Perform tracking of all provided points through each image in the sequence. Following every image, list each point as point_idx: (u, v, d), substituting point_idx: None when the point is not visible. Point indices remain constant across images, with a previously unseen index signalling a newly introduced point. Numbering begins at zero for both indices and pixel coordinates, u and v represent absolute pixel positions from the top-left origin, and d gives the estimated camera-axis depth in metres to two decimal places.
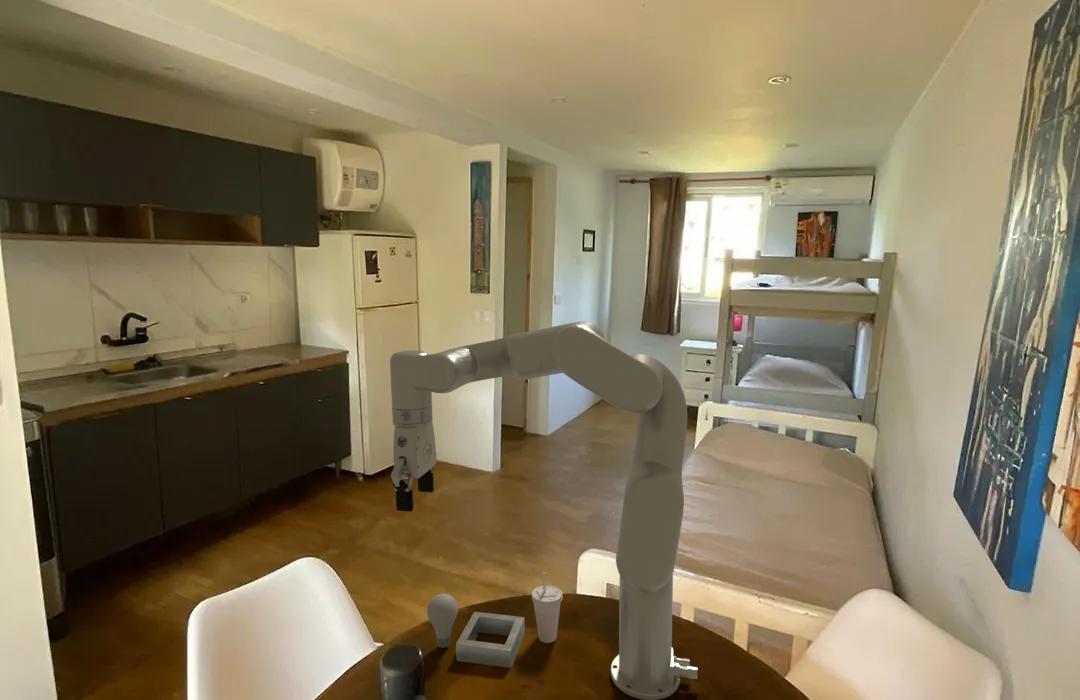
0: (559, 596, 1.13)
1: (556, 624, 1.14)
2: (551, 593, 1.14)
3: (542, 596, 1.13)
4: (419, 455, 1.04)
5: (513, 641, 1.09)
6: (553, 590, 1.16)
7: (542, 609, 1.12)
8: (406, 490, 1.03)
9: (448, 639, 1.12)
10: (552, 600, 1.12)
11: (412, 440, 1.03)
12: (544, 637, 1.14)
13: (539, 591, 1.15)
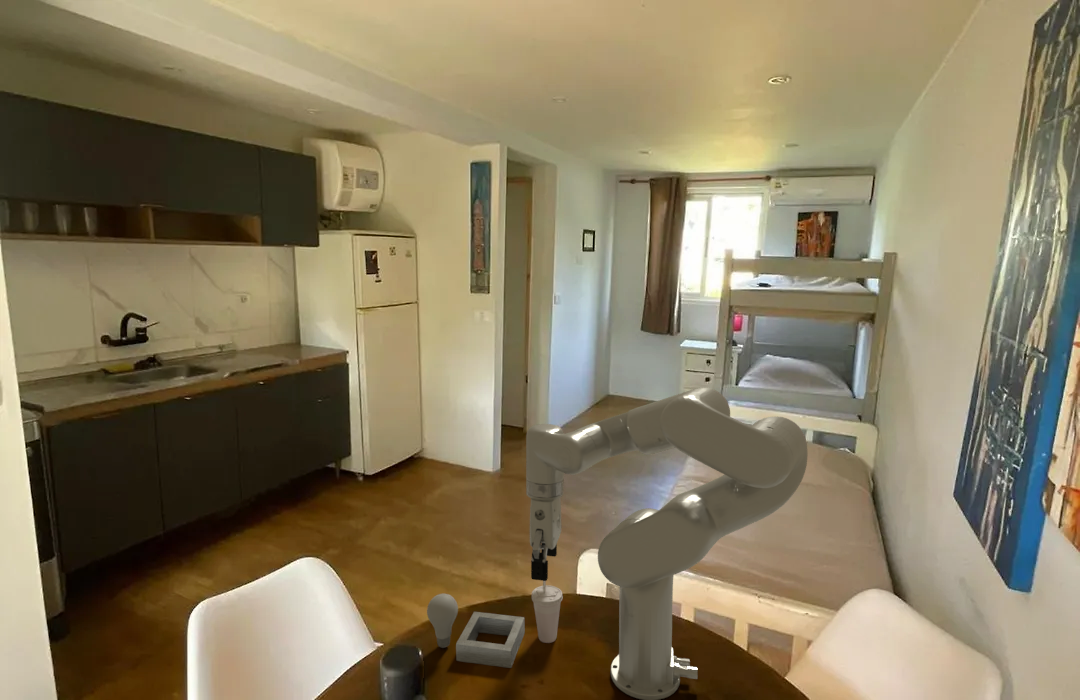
0: (559, 596, 1.13)
1: (556, 624, 1.14)
2: (551, 593, 1.14)
3: (542, 596, 1.13)
4: (554, 527, 1.09)
5: (513, 641, 1.09)
6: (553, 590, 1.16)
7: (542, 609, 1.12)
8: (543, 561, 1.07)
9: (448, 639, 1.12)
10: (552, 600, 1.12)
11: (549, 514, 1.08)
12: (544, 637, 1.14)
13: (539, 591, 1.15)
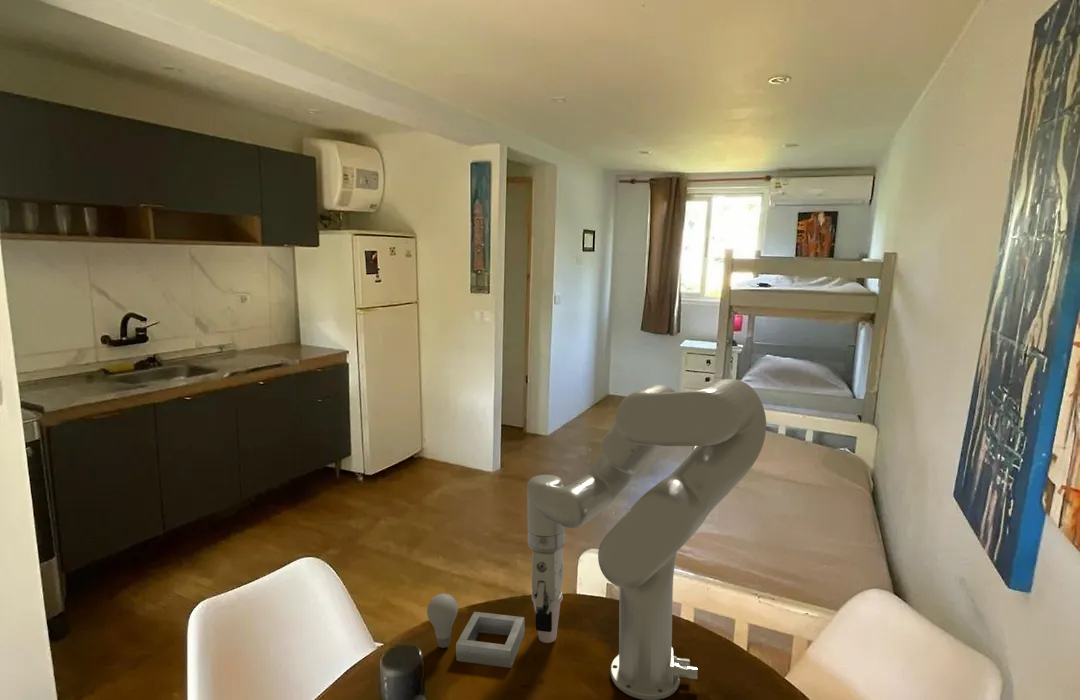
0: (559, 596, 1.13)
1: (556, 624, 1.14)
2: None
3: None
4: (556, 578, 1.10)
5: (513, 641, 1.09)
6: None
7: None
8: (547, 614, 1.10)
9: (448, 639, 1.12)
10: (552, 600, 1.12)
11: (551, 566, 1.09)
12: (544, 637, 1.14)
13: None
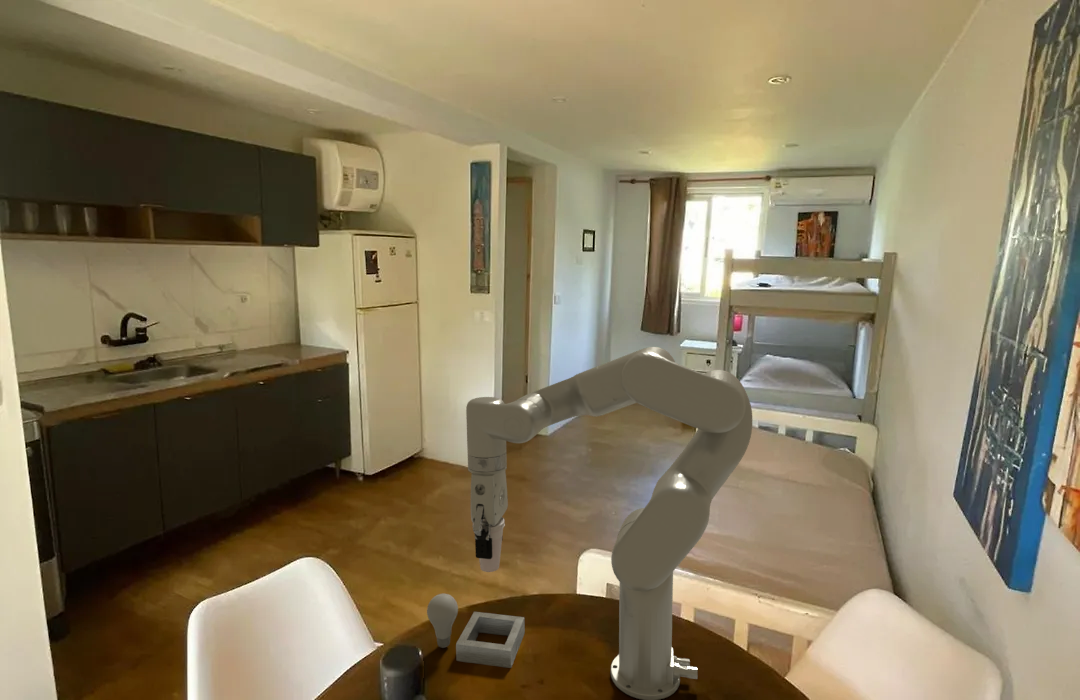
0: (500, 523, 1.09)
1: (498, 552, 1.09)
2: None
3: None
4: (496, 502, 1.05)
5: (513, 641, 1.09)
6: None
7: None
8: (487, 539, 1.05)
9: (448, 639, 1.12)
10: (493, 526, 1.07)
11: (490, 488, 1.04)
12: (485, 566, 1.09)
13: None
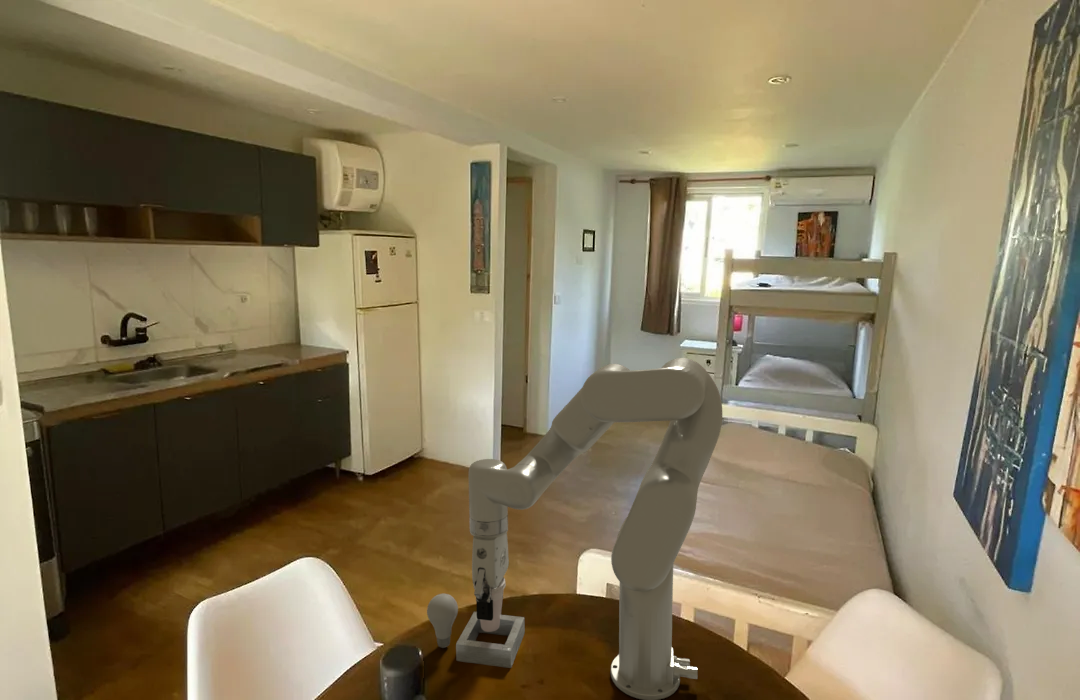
0: (501, 584, 1.10)
1: (498, 612, 1.11)
2: None
3: None
4: (497, 565, 1.07)
5: (513, 641, 1.09)
6: None
7: None
8: (488, 602, 1.07)
9: (448, 639, 1.12)
10: (494, 588, 1.09)
11: (491, 552, 1.05)
12: (486, 626, 1.11)
13: None
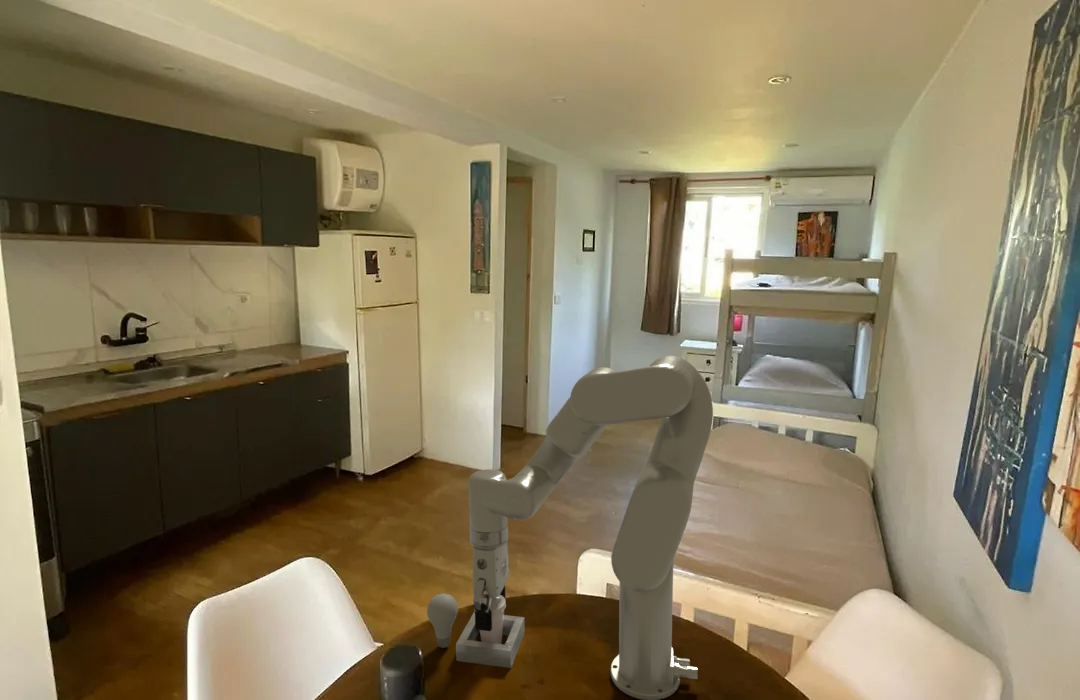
0: (501, 605, 1.10)
1: (499, 633, 1.11)
2: (493, 602, 1.11)
3: None
4: (498, 576, 1.07)
5: (513, 641, 1.09)
6: (497, 598, 1.13)
7: None
8: (486, 612, 1.06)
9: (448, 639, 1.12)
10: (494, 609, 1.09)
11: (492, 563, 1.06)
12: None
13: (482, 600, 1.12)
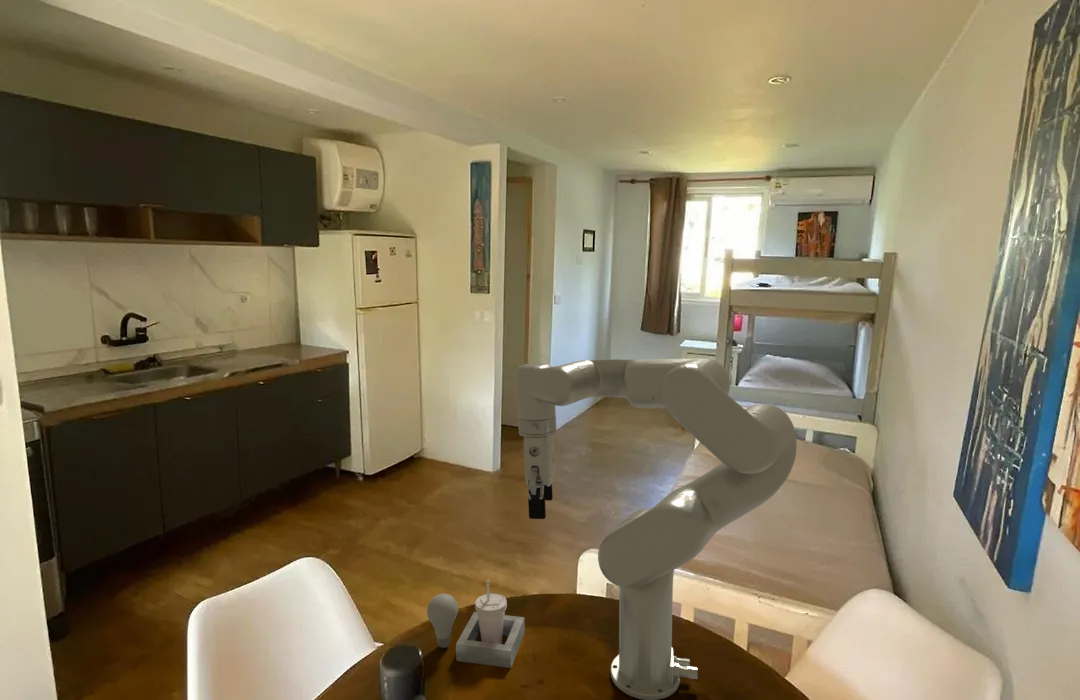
0: (503, 604, 1.11)
1: (500, 633, 1.11)
2: (495, 602, 1.11)
3: (485, 605, 1.11)
4: (549, 464, 1.08)
5: (513, 641, 1.09)
6: (498, 598, 1.13)
7: (484, 618, 1.09)
8: (540, 498, 1.06)
9: (448, 639, 1.12)
10: (495, 609, 1.09)
11: (544, 449, 1.07)
12: None
13: (483, 599, 1.12)
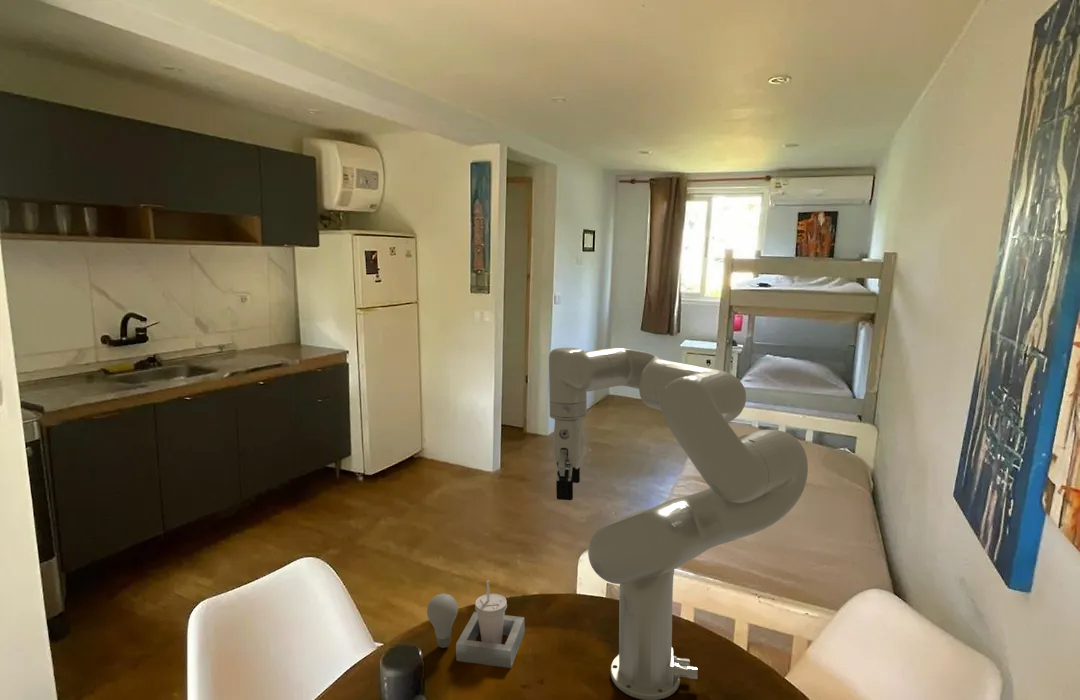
0: (503, 605, 1.10)
1: (500, 633, 1.11)
2: (495, 602, 1.11)
3: (485, 605, 1.11)
4: (579, 447, 1.10)
5: (513, 641, 1.09)
6: (498, 599, 1.13)
7: (484, 618, 1.09)
8: (568, 480, 1.08)
9: (448, 639, 1.12)
10: (495, 609, 1.09)
11: (574, 432, 1.09)
12: None
13: (483, 600, 1.12)
